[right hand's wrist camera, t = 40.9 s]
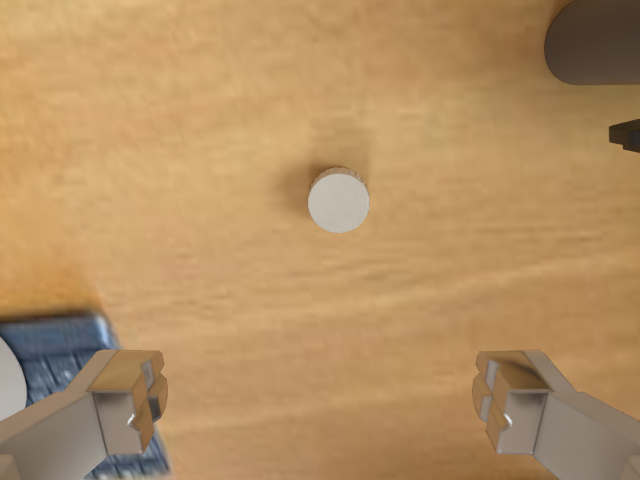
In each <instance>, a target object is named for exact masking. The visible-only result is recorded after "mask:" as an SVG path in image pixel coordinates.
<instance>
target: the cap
mask: <svg viewBox="0 0 640 480" xmlns="http://www.w3.org/2000/svg"><path fill="white" fill-rule="evenodd" d="M367 190H368V189H367V186H366V184H365V183H364V181H363V178H362V177H360V176H359V175H358V174H357V172H356V173H355V172H354V171H352V170H351V169H347V168H344V167H342V168H340V167H337V168H336V167H335V168H331V169H327V170H326V171H324V172H321V174H320V175H319V176H318V177H316V178H315V181H314V182H313V183H312V184H311V188H310V190H309V194H308V197H309V198H308V203H307V204H308V209H309V213H310V215H311V217H312V219H313V220H314V222H315V223H316V224H317V225H318V226H320V227H321V228H323V229H324V230H326V231H329V232H334V233H344V232H348V231H351V230H353V229H355V228H356V227H358V226H359V225H360V224H361V223H362V222H363V221H364V219H365V218H366V216H367V213H368V210H369V205H370V202H369V197H370V196H369V192H368V191H367Z"/></svg>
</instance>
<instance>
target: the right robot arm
mask: <svg viewBox="0 0 640 480" xmlns="http://www.w3.org/2000/svg"><path fill="white" fill-rule="evenodd" d="M163 366H164V361H163V356H162V353H161V352H160V351H147V350H100V351H97V352H96V353H95V354H94V355H93V357H92V358H91V359H90V360H89V361H88V363H87V364H86V365H85V366H84V367H83V368H82V370H81V371H80V372H79V373H78V374H77V376H76V377H75V378H74V379H73V380H72V381H71V383H70V384H69V385H68V386H67V387H66V389H65V390H64V391H63V392H55V393H53V394H52V395H50V396H48V397H46V398H44V399H42V400H40V401H38V402H36V403H34V404H32V405H31V406H29V407H27V408H25V406H26V400H27V388H26V382H25V378H24V374H23V372H22V369H21V367H20V364H19V362H18V360H17V359H16V357H15V355H14V354H13V352H12V350H11V349H10V348H9V346H8V345H7V344H6V343H5V341H4V340H3V339H2V338H1V337H0V480H81V479H82V478H83V477H84V476H85V475H87V474H88V473H89V472H90V471H91V470H92V469H94V468H95V467H96V466H97V465H98V464H99V463H101V462H102V461H103V460H104V459H105V458H106V457H107V455H124V454H144V452H145V450H146V448H147V445H148V443H149V441H150V439H151V437H152V435H153V433H154V427H153V423H154V422H155V421H157V420H158V419H160V418H161V416H162V414H163V412H164V410H165V407H166V402H167V397H168V385H167V379H166V378H165V377H164V376H163V375H162V374H161V373H160V372H161V370H162V368H163ZM476 366H477V368H478V370H479V372H480V373H479V374H478V375H477V376H476V377H475V378H474V379H473V387H472V395H473V403H474V406H475V410H476V412H477V414H478V416H479V418H480V419H482V420H483V421H485V422H486V423H487V427H486V433H487V435H488V437H489V439H490V441H491V443H492V445H493V447H494V450H495V452H496V454H516V455H533V457H534V458H535V459H536V460H537V461H539V462H540V463H541V464H542V465H543V466H544V467H545V468H547V469H548V470H549V471H550V472H551V473H552V474H554V475H555V476H556V477H557V478H558V479H559V480H640V421H638V420H636V419H634V418H632V417H630V416H628V415H627V414H625V413H623V412H621V411H619V410H617V409H615V408H613V407H611V406H609V405H607V404H606V403H604V402H602V401H600V400H598V399H596V398H594V397H592V396H590V395H588V394H586V393H585V392H577V391H576V390H575V389H574V387H573V386H572V385H571V384H570V383H569V382H568V380H567V379H566V378H565V377H564V376H563V374H562V373H561V372H560V371H559V370H558V369H557V367H556V366H555V365H554V364H553V363H552V361H551V360H550V359H549V358H548V357H547V356H546V354H545V353H544V352H543V351H540V350H519V351H480V352H479V354H478V356H477V360H476Z"/></svg>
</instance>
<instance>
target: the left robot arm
mask: <svg viewBox="0 0 640 480" xmlns="http://www.w3.org/2000/svg"><path fill="white" fill-rule="evenodd" d="M609 142H611V143H616V144H621V145H623V149H624V150H629V151H634V152H638V153H640V119H636V120H632V121H628V122H624V123H620V124H616V125H612V126H610V127H609Z"/></svg>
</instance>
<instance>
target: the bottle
mask: <svg viewBox="0 0 640 480" xmlns="http://www.w3.org/2000/svg"><path fill="white" fill-rule="evenodd" d="M545 58H546V62H547V65H548V67H549V69H550V70H551V72H552V73H553V74H554V75H555V76H556V77H557V78H558V79H560V80H561V81H563V82H566V83H568V84H573V85H627V84H640V0H575V1H573V2H571V3H570V4H568V5H567V6H566V7H565V8H564V9H563V10H562V11H561V12H560V13H559V14H558V15H557V16H556V18H555V19H554V21H553V22H552V24H551V26H550V28H549V30H548V33H547V36H546V41H545Z"/></svg>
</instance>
